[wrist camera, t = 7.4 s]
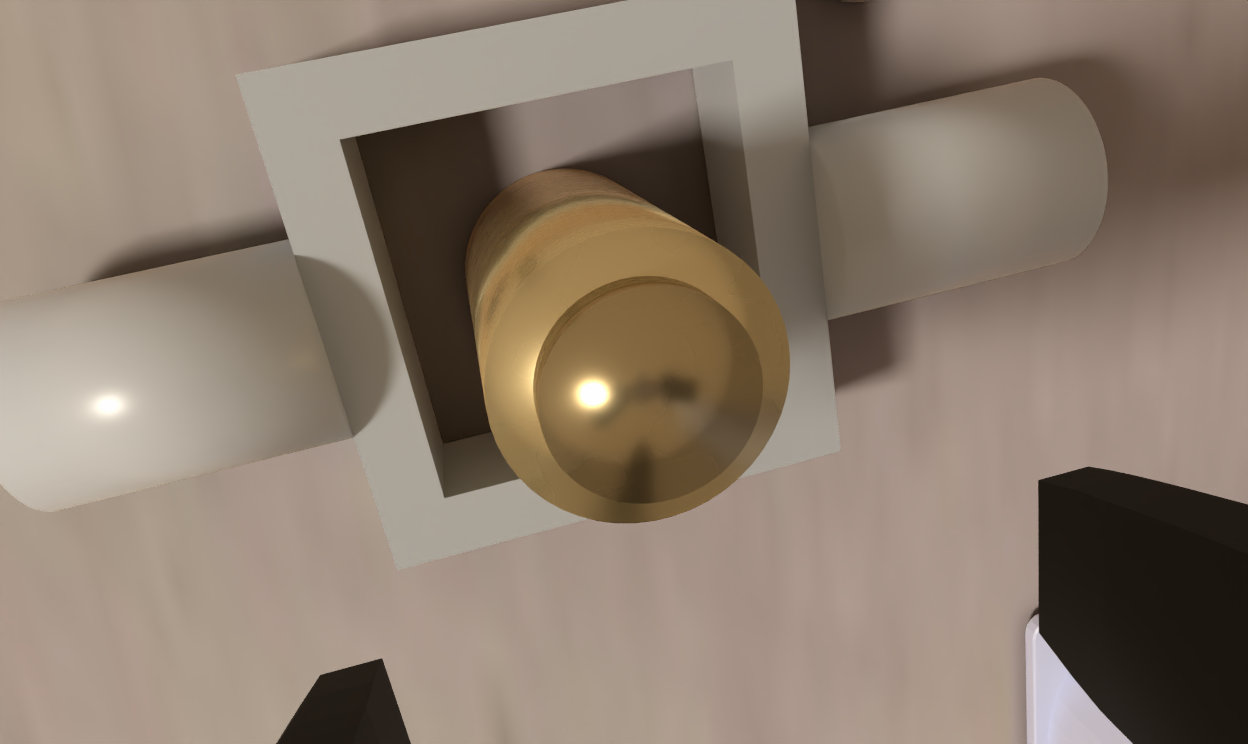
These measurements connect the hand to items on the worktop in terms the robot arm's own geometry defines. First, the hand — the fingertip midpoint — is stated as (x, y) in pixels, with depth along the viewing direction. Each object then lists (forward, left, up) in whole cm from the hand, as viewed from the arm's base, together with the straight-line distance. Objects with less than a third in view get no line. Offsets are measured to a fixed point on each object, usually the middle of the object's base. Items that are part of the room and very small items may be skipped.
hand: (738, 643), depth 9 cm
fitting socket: (0, -2, -10) cm, 10 cm away
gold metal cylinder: (0, -2, -10) cm, 10 cm away
